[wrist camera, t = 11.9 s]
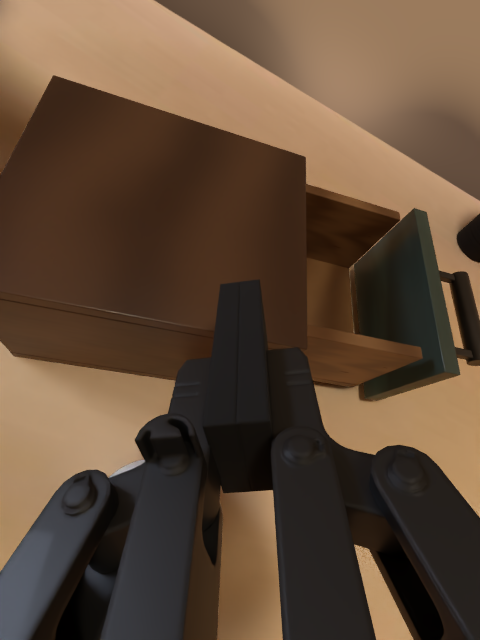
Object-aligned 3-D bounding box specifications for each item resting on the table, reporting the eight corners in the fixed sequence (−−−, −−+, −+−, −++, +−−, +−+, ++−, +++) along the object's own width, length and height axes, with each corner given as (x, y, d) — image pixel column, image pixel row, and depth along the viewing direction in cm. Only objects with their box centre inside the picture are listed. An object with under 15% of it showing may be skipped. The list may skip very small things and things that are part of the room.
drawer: (417, 281, 36) (490, 231, 29) (440, 410, 30) (538, 389, 23) (213, 229, 31) (240, 153, 24) (194, 371, 25) (220, 329, 18)
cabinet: (258, 241, 33) (306, 156, 24) (248, 391, 27) (308, 349, 18) (75, 194, 29) (52, 74, 21) (13, 356, 23) (-57, 281, 14)
